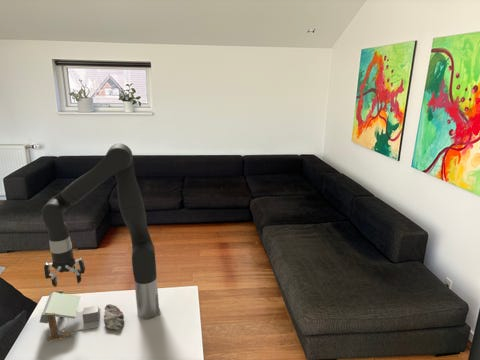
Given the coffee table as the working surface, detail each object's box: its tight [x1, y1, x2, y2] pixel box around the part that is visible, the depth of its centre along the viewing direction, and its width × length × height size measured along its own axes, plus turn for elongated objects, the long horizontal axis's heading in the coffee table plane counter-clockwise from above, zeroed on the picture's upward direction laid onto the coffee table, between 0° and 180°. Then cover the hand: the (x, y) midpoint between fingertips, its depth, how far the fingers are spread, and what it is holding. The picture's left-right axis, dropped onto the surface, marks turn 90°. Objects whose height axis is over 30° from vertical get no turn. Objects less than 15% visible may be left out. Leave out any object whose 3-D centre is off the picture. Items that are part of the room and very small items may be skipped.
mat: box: [62, 308, 101, 334], centre depth 147 cm, size 13×12×1 cm
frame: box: [47, 289, 72, 342], centre depth 143 cm, size 8×18×12 cm, turn 16°
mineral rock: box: [103, 304, 125, 331], centre depth 147 cm, size 15×8×4 cm, turn 17°
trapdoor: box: [39, 291, 81, 324], centre depth 142 cm, size 12×14×5 cm
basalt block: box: [82, 305, 101, 324], centre depth 147 cm, size 4×4×6 cm
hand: (67, 284), depth 140 cm, fingers open, 8 cm apart
